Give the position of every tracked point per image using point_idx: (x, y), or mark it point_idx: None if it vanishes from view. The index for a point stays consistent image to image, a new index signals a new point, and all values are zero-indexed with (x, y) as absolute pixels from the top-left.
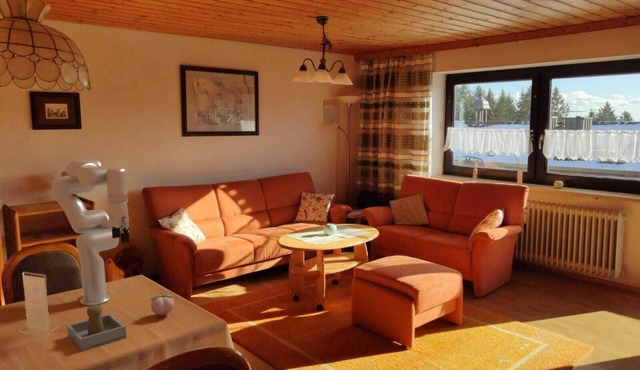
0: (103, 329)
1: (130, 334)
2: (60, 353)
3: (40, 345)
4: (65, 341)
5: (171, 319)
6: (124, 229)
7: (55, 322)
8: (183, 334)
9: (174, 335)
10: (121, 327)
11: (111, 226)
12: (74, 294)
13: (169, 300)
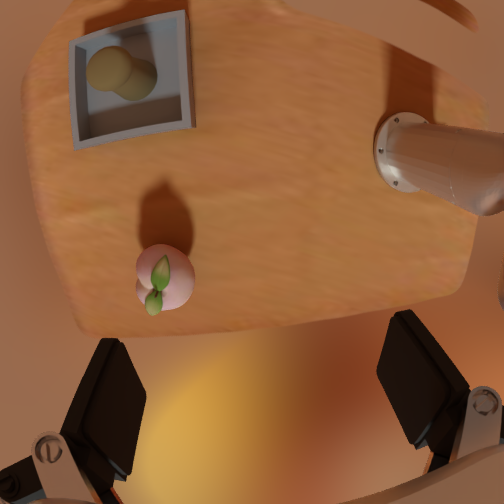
0: (120, 96)
1: (101, 159)
2: (106, 9)
3: None
4: None
5: None
6: (5, 473)
7: (317, 18)
8: (53, 261)
9: (55, 245)
10: (73, 139)
11: (497, 403)
12: None
13: (139, 298)
